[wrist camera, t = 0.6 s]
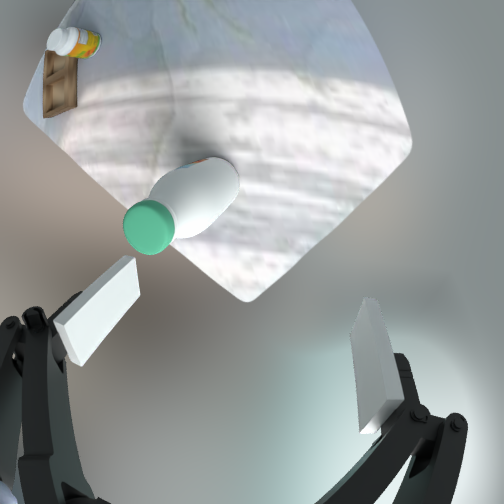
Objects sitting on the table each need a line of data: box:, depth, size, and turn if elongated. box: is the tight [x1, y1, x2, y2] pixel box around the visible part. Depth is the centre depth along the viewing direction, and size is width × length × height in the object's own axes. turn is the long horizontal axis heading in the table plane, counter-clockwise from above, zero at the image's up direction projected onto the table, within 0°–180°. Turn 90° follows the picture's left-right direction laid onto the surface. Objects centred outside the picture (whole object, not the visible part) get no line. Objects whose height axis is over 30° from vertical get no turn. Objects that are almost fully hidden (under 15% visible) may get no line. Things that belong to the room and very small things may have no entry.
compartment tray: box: [43, 50, 78, 118], centre depth 33 cm, size 15×8×2 cm, turn 2°
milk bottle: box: [123, 157, 240, 255], centre depth 30 cm, size 8×8×20 cm
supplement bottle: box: [47, 27, 101, 59], centre depth 27 cm, size 5×5×10 cm
